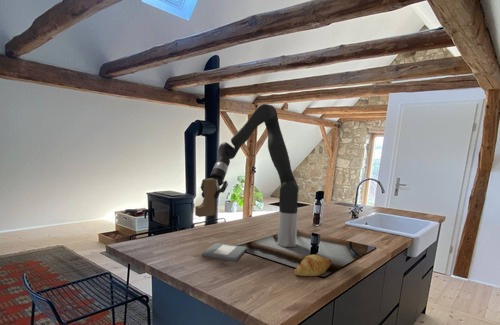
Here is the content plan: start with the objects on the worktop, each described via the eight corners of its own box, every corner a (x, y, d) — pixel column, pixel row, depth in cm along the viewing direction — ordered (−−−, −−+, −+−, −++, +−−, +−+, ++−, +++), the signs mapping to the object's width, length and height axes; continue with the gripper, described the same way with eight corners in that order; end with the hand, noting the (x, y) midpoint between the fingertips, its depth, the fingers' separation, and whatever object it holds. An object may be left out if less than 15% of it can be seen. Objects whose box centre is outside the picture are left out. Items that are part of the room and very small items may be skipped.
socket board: (246, 249, 139) (246, 246, 139) (235, 261, 124) (235, 257, 123) (216, 245, 143) (216, 242, 143) (201, 255, 128) (202, 252, 128)
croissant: (299, 288, 109) (308, 274, 105) (283, 268, 115) (291, 254, 112) (334, 275, 121) (342, 261, 118) (317, 257, 128) (325, 244, 125)
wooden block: (199, 217, 137) (200, 179, 136) (194, 215, 141) (195, 178, 140) (215, 215, 142) (216, 179, 142) (210, 213, 146) (211, 178, 145)
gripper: (204, 166, 152) (193, 191, 141) (230, 168, 148) (220, 193, 137) (208, 176, 157) (198, 200, 147) (233, 177, 153) (224, 203, 142)
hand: (209, 197), depth 142 cm, fingers closed on wooden block, 6 cm apart
